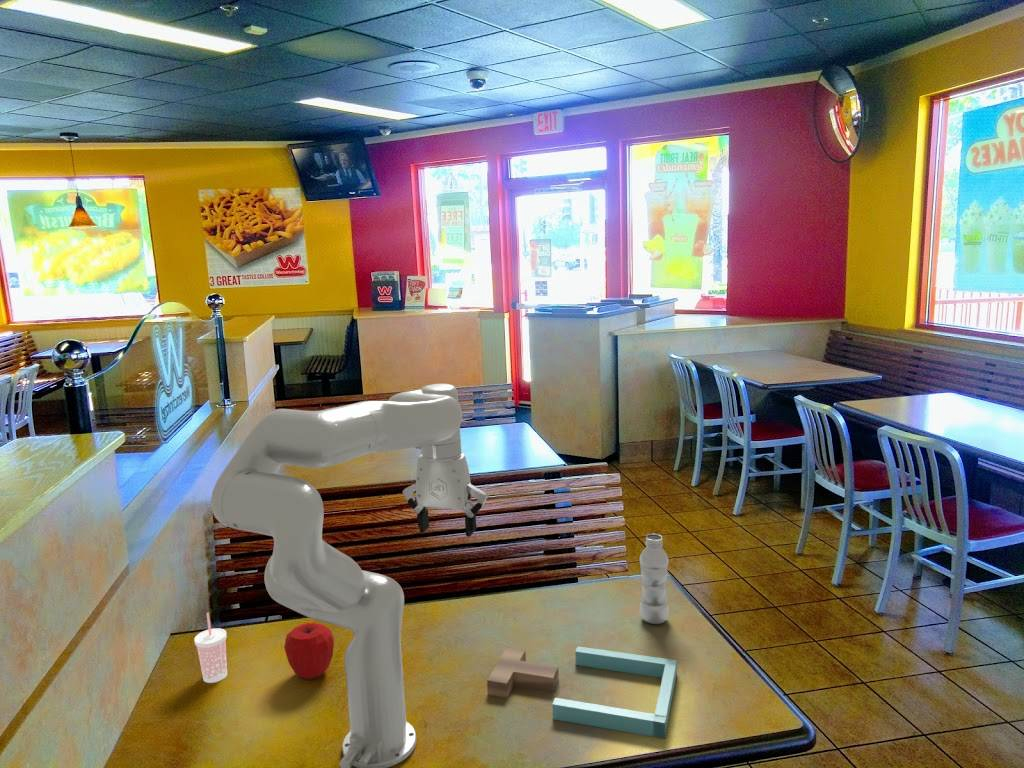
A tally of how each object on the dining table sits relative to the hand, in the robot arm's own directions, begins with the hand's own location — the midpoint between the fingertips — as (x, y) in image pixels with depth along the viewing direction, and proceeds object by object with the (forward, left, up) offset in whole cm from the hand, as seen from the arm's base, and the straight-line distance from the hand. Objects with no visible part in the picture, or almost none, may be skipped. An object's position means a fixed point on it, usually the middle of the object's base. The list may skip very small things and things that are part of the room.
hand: (447, 532), depth 144 cm
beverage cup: (-15, +47, -30) cm, 57 cm away
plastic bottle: (+30, -36, -30) cm, 56 cm away
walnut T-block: (0, -15, -30) cm, 33 cm away
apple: (-9, +28, -30) cm, 42 cm away
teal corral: (0, -32, -30) cm, 44 cm away
